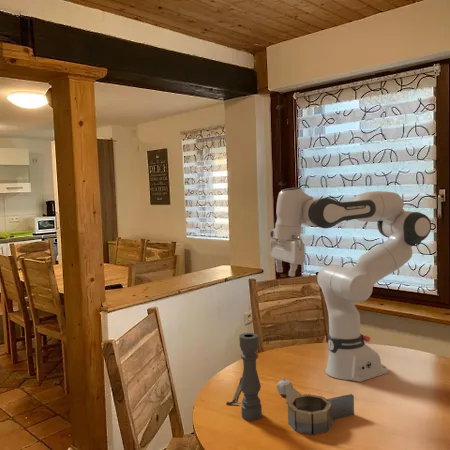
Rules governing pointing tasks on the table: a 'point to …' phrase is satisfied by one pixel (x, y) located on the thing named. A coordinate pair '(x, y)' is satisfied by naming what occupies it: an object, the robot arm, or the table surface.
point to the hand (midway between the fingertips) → (285, 274)
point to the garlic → (283, 386)
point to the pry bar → (236, 395)
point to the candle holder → (250, 378)
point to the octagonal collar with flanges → (316, 411)
